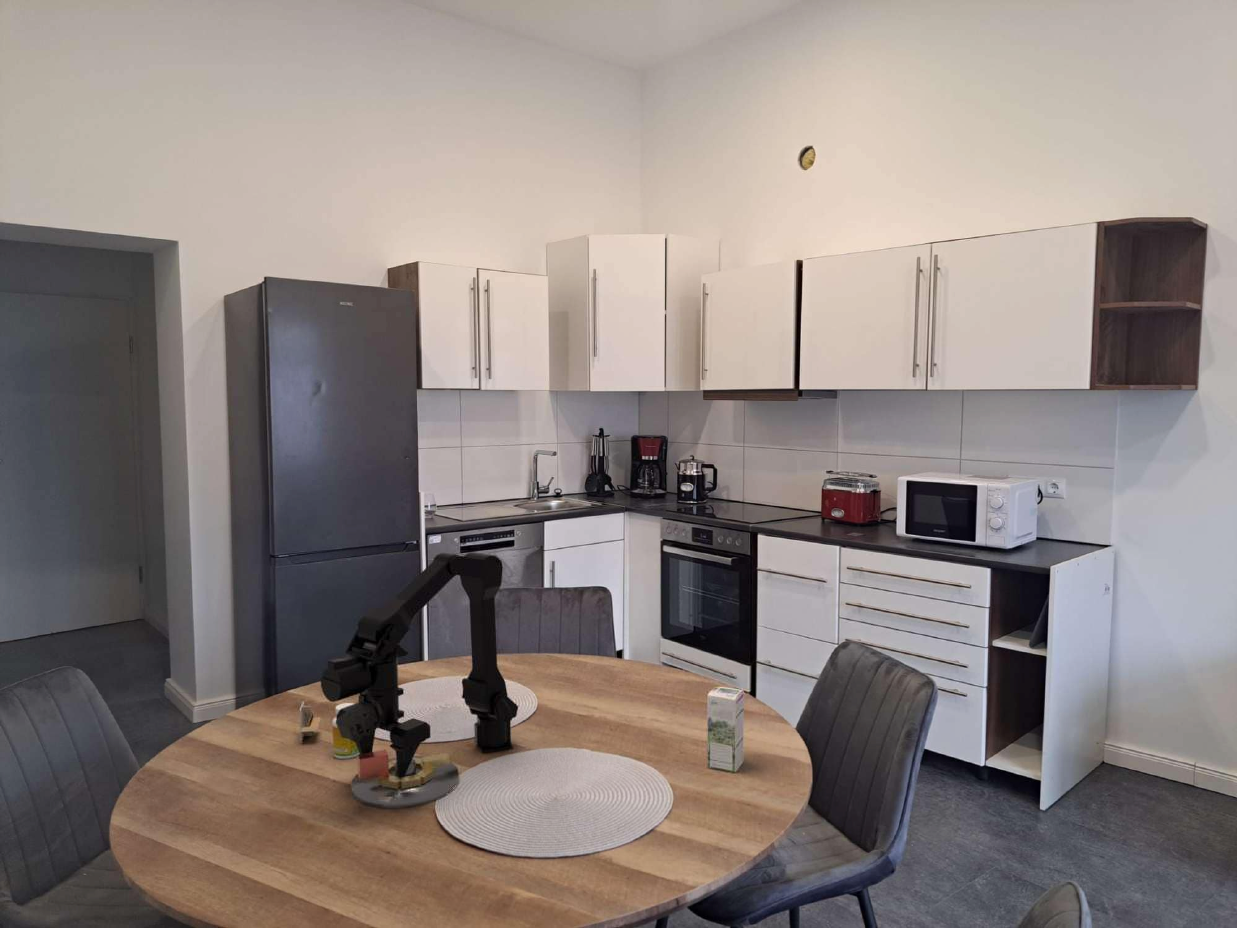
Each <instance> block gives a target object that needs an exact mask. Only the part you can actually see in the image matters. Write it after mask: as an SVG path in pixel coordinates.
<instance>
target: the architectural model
mask: <svg viewBox="0 0 1237 928" xmlns="http://www.w3.org/2000/svg"><path fill="white" fill-rule="evenodd" d="M321 718H322V717H321V716H318V717H317V716H316V717H314V711H313V710H312V706H311V705H305V701H302V703H301V705H300V708H299V735H300V736H299V737H300V738H299V740H300V742H299V743H301V744H302V743H303V741H304V738H305V737H312V736H313V733H314V732H316V731H318V729H319V725H320V721H321ZM303 737H304V738H303ZM302 740H303V741H302Z"/></svg>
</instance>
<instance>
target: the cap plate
mask: <svg viewBox="0 0 1237 928" xmlns="http://www.w3.org/2000/svg"><path fill="white" fill-rule="evenodd" d="M427 756H428V755H414V756H413V758H420V759H422V758H421V757H427ZM388 759H389V762H391V761H393V760H396V757H394V758H388ZM420 771H421V770H417V769H416V762H415V760H414V759H412V761H411V763H410V765H409V767H408V770H407V772H406V774H405V776H404V777H406V776H412V775H416V774H417V773H419V772H420ZM390 775H391V776H397V777H399V776H398V771H397V762H396V763H395V772H393V773H392V774H390ZM458 780H459V769H458V768H457V766H456V765H455V764H454V763H453V762H451V761H449V764H447V765H441V766H436V767H435V774H434V777H432V778H431V779H430V780H429V781H427V782H426V783H425V784H422V783H421V785H419V786H414V787H409V788H404V789H402V788H401V787H400V788H399V789H395V788H389V787H383V786H381V785H379V783H378V781H377V779H376V778H373V779H368V780H363V781H360V779H359V777H358V773H356V775H355V776H354V777H353V779H352V781H351V786H350V788H351V795H352V797H353V798H354V800H356V801H357V802H359V803H360V804H362V805H365V806H368V807H372V808H378V809H386V810H387V809H390V810H391V809H392V810H393V809H394V810H395V809H407V808H414V807H419V806H422V805H425V804H430V803H433V802H435V801H437V799H438V800H440V799H442V798H444V797H445V796H444V795H446V794H447V793H449V792H450V791H451V790H452V791H454V789H455V788H456V787H457V786H456V785H458V783H459V781H458ZM455 786H456V787H455ZM454 787H455V788H454ZM453 788H454V789H453ZM452 791H451V792H452ZM451 792H450V793H451ZM450 793H449V794H450ZM447 795H448V794H447ZM447 795H446V796H447ZM443 796H444V797H443ZM441 797H442V798H441ZM439 798H440V799H439Z"/></svg>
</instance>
